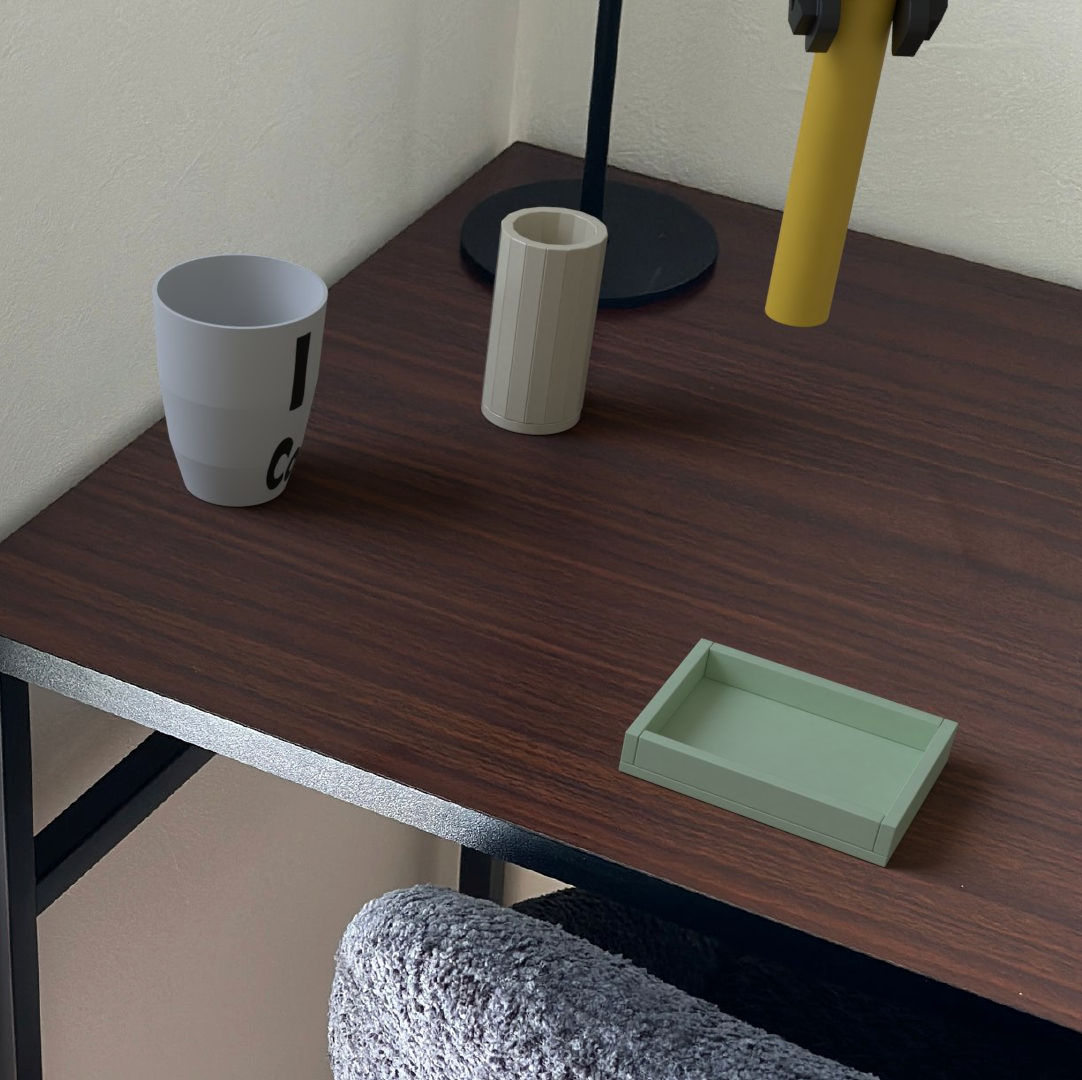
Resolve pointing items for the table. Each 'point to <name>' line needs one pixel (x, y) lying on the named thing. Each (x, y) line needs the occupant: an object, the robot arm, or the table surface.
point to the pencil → (828, 164)
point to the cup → (238, 370)
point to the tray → (789, 750)
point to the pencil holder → (542, 319)
